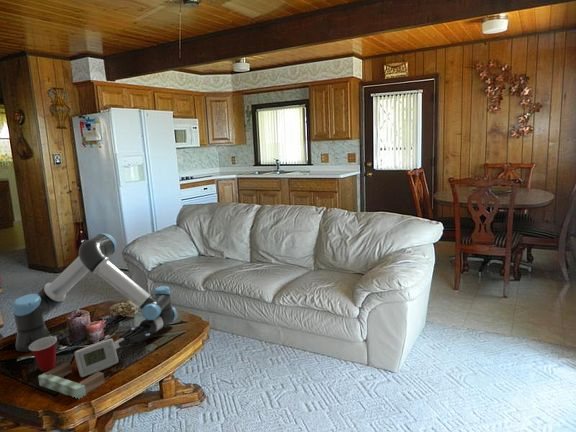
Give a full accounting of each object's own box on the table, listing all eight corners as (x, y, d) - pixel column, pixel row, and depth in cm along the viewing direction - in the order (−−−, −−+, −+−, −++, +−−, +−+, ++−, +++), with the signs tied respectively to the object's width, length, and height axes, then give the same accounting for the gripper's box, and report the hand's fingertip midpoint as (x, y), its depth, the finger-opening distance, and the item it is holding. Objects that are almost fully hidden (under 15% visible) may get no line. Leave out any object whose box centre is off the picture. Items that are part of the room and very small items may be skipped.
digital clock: (79, 379, 178) (75, 355, 176) (76, 370, 186) (72, 347, 184) (120, 366, 187) (117, 343, 185) (116, 358, 194) (113, 335, 192)
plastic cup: (28, 370, 188) (23, 344, 186) (53, 359, 197) (48, 334, 194) (41, 377, 182) (36, 350, 180) (66, 365, 191) (62, 339, 188)
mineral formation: (138, 317, 237) (108, 320, 233) (140, 312, 250) (111, 315, 246) (137, 302, 236) (107, 305, 233) (139, 298, 249) (111, 300, 246)
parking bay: (39, 385, 176) (37, 376, 175) (66, 370, 186) (65, 361, 186) (79, 399, 165) (77, 389, 164) (105, 382, 175) (104, 373, 174)
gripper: (140, 316, 214) (99, 337, 194) (160, 319, 208) (121, 342, 188) (142, 330, 216) (102, 352, 195) (162, 334, 210) (123, 358, 189)
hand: (111, 347), depth 192 cm, fingers closed
